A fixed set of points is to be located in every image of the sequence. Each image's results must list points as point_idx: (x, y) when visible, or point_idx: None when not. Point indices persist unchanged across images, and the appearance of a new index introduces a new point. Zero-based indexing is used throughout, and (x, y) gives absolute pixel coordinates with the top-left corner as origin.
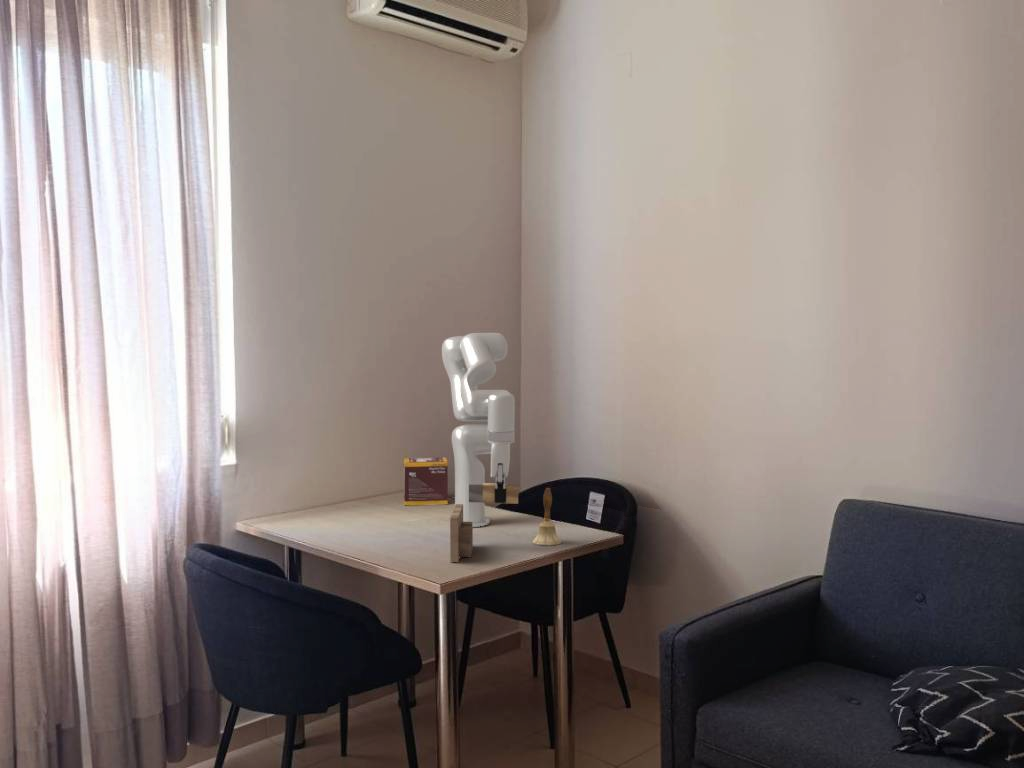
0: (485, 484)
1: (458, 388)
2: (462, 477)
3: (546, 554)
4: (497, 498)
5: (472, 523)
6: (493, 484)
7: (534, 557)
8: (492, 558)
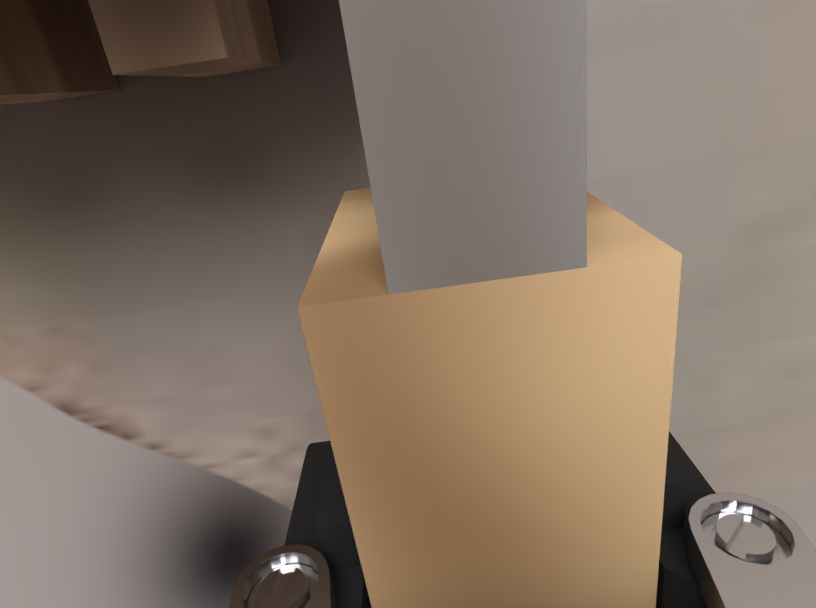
0: (480, 348)
1: None
2: None
3: (281, 498)
4: (308, 450)
5: (215, 60)
6: (510, 521)
7: (199, 459)
8: (93, 250)
